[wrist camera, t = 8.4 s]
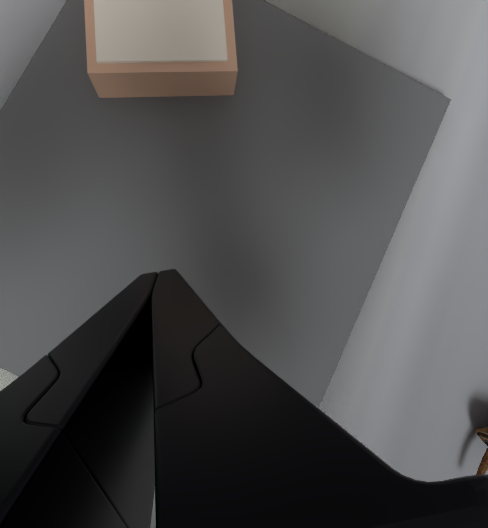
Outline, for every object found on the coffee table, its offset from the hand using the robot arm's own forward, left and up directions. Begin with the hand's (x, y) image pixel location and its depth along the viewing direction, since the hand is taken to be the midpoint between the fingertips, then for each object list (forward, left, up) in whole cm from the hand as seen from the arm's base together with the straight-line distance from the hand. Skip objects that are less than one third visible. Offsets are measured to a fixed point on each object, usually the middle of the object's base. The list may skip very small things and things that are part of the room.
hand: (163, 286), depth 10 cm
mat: (+1, -4, -9) cm, 10 cm away
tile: (+4, -8, -7) cm, 12 cm away
